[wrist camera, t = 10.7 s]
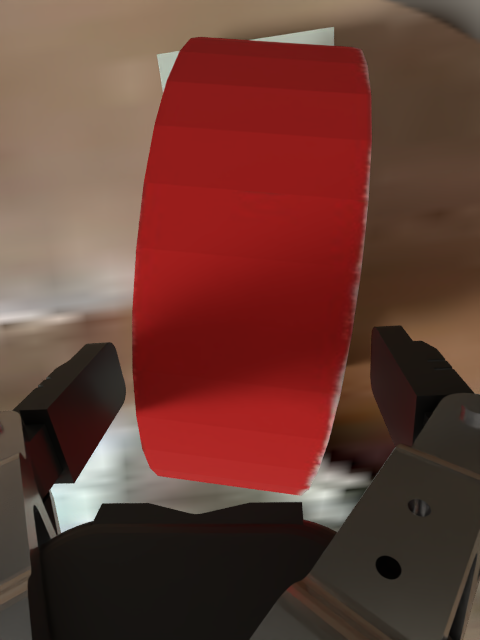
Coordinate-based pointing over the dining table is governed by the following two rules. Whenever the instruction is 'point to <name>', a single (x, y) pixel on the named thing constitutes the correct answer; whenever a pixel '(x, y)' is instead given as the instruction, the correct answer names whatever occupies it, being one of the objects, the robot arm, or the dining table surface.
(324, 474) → the dining table surface
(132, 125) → the dining table surface
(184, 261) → the toy clock
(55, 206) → the dining table surface
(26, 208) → the dining table surface
